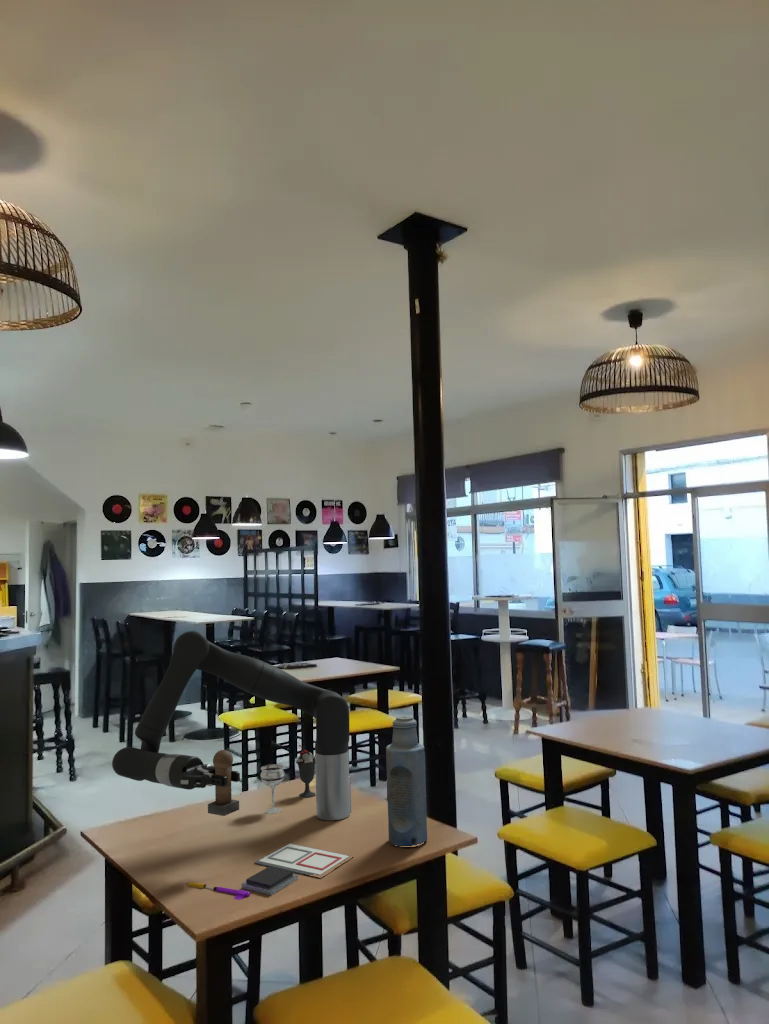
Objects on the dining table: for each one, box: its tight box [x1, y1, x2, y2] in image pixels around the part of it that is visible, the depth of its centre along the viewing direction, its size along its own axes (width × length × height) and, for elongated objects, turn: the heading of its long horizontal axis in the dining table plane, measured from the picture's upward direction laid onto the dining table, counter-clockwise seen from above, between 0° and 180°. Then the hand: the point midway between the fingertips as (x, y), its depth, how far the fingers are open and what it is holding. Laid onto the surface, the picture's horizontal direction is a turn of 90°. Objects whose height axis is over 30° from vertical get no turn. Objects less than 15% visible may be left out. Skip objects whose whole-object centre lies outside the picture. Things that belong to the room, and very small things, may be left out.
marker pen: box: [186, 882, 251, 901], centre depth 150 cm, size 3×1×16 cm
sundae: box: [295, 744, 316, 798], centre depth 216 cm, size 7×7×15 cm
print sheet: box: [254, 842, 351, 877], centre depth 165 cm, size 13×19×1 cm
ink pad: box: [241, 866, 298, 896], centre depth 153 cm, size 9×8×2 cm
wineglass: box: [260, 763, 286, 815], centre depth 202 cm, size 7×7×12 cm
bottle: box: [385, 715, 428, 846], centre depth 176 cm, size 10×10×30 cm
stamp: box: [207, 749, 240, 817], centre depth 164 cm, size 5×5×14 cm
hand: (232, 779), depth 163 cm, fingers closed on stamp, 3 cm apart
